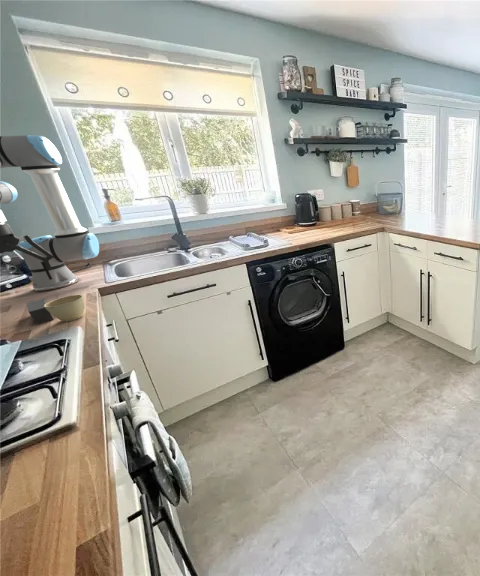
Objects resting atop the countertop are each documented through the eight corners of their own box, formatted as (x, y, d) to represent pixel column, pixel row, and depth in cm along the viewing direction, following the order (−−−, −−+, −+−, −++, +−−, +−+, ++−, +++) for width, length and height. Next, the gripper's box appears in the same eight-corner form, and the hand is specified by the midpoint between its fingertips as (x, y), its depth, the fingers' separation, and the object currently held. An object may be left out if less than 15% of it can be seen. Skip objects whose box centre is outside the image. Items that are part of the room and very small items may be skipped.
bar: (33, 314, 117) (26, 302, 115) (50, 310, 120) (43, 298, 118) (36, 324, 108) (28, 311, 106) (53, 319, 111) (46, 307, 109)
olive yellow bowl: (53, 319, 111) (44, 301, 108) (90, 309, 117) (81, 292, 115) (53, 328, 104) (42, 309, 102) (91, 317, 111) (83, 299, 108)
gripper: (-75, 233, 90) (-33, 299, 98) (45, 218, 107) (72, 275, 115) (-71, 231, 95) (-31, 294, 102) (43, 217, 112) (70, 272, 120)
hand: (24, 284), depth 109 cm, fingers open, 13 cm apart
